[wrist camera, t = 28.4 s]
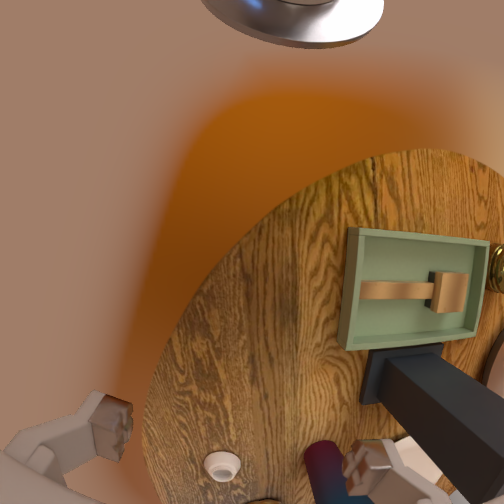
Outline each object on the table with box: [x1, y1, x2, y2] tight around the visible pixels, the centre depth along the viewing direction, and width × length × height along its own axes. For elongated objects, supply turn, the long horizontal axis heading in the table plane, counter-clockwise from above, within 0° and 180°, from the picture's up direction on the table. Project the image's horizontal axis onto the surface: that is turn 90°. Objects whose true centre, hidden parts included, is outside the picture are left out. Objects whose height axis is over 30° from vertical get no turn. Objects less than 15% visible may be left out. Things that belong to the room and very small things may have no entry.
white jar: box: [204, 452, 241, 482], centre depth 35 cm, size 5×3×5 cm
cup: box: [304, 440, 375, 504], centre depth 30 cm, size 7×7×15 cm
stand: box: [359, 342, 504, 504], centre depth 24 cm, size 8×12×26 cm, turn 87°
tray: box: [337, 227, 490, 351], centre depth 34 cm, size 14×22×3 cm, turn 87°
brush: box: [359, 271, 469, 313], centre depth 34 cm, size 16×5×3 cm, turn 86°
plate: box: [394, 435, 443, 484], centre depth 39 cm, size 25×25×2 cm
